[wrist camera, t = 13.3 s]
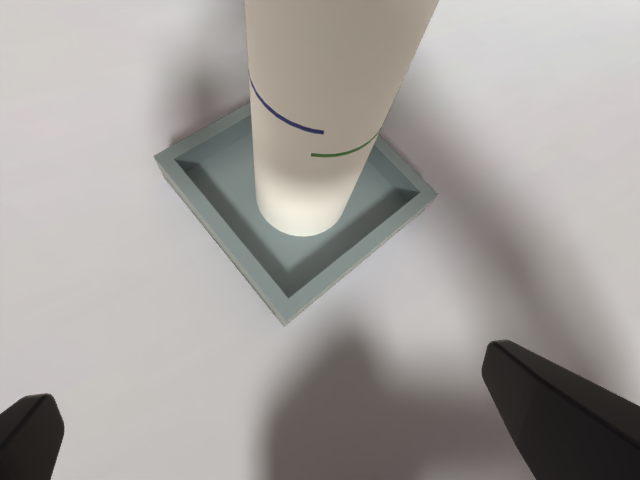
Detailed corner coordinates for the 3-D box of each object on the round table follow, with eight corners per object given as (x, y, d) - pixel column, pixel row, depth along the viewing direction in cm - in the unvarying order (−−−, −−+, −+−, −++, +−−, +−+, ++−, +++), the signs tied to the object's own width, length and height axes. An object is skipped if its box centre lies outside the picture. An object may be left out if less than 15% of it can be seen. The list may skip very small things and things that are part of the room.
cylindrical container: (272, 145, 30) (290, -597, 7) (354, 171, 31) (626, -474, 8) (242, 220, 28) (124, -577, 5) (333, 248, 28) (651, -385, 5)
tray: (423, 211, 31) (438, 194, 28) (284, 326, 26) (286, 320, 23) (309, 92, 34) (312, 67, 31) (164, 177, 29) (153, 156, 26)
